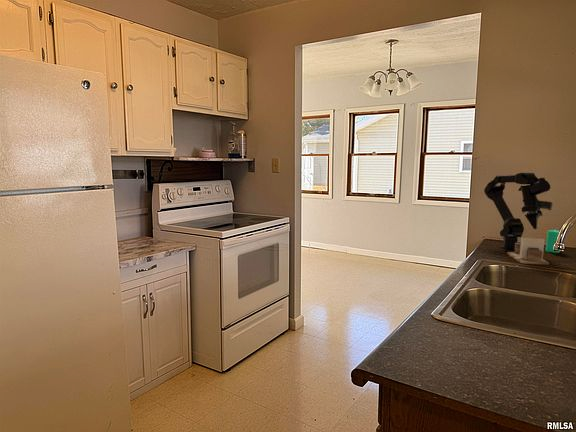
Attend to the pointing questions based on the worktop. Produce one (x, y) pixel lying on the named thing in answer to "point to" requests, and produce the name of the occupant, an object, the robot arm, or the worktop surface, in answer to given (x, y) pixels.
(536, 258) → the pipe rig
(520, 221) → the robot arm
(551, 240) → the candle
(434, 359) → the worktop surface
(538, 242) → the sleeve
